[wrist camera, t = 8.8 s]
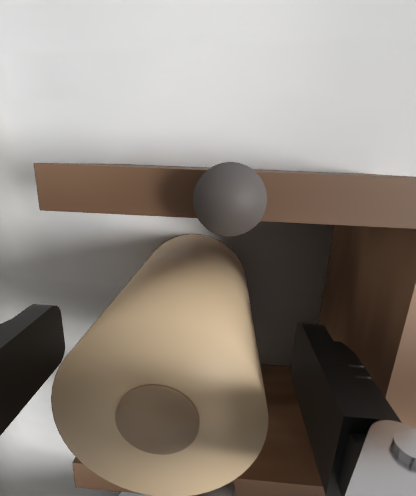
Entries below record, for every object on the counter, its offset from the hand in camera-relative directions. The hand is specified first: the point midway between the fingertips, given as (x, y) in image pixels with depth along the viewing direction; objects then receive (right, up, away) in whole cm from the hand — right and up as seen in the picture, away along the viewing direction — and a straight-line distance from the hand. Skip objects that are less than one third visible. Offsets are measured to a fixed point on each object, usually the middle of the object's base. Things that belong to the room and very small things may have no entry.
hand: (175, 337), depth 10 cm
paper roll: (0, +1, +5) cm, 5 cm away
